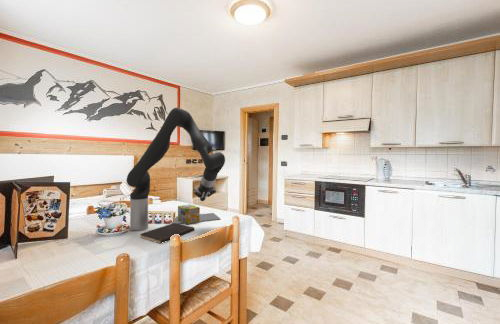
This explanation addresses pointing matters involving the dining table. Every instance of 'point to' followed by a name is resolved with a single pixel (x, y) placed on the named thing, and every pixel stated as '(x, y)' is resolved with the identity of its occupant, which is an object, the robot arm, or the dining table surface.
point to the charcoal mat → (201, 218)
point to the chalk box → (188, 214)
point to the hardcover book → (166, 232)
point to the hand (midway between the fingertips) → (202, 199)
